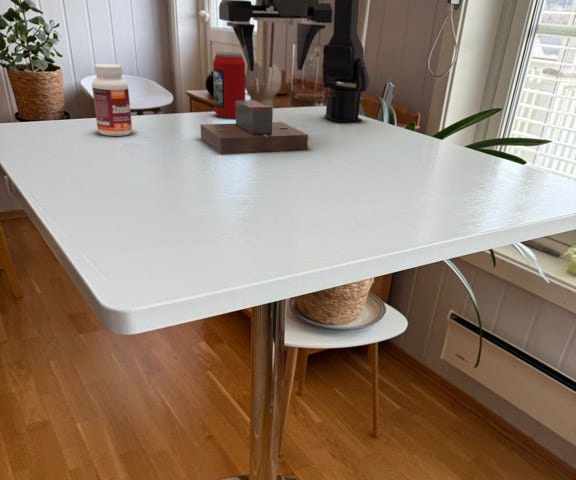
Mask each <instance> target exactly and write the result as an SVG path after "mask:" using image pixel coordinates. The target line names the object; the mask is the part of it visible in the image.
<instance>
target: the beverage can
mask: <svg viewBox="0 0 576 480" xmlns="http://www.w3.org/2000/svg"><path fill="white" fill-rule="evenodd" d="M244 59H245V58H244V57H243V54H242V53H241V52H234V51H233V52H232V51H231V52H230V51H220V52H215V56H214V59H213V61H212V69H213V70H212V73H213V74H212V75H213V106H214V107H213V108H214V113H215V114H216V115H217V116H218V117H220V118H224V119H225V118H226V119H236V101H237V100H246V61H245V60H244Z"/></svg>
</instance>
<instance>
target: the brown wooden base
mask: <svg viewBox="0 0 576 480" xmlns="http://www.w3.org/2000/svg"><path fill="white" fill-rule="evenodd" d="M200 139H201V140H202V141H203V142H204V143H205V144H207V145H208V146H210V147H211V148H212V149H213V150H215V151H217V152H218V153H219V154H221V155H229V154H230V155H231V154H248V153H249V154H250V153H268V152H288V151H290V152H291V151H307V150H308V143H309V134H307V133H306V132H303V131H301V130H299V129H297V128H295V127H293V126H291V125H289V124H287V123H285V122H283V121H272V134H251V133H250V132H248V131H246V130H244V129H243V128H241V127H239V126H237V125H236V122H233V123H203V124H200Z"/></svg>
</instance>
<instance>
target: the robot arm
mask: <svg viewBox="0 0 576 480" xmlns="http://www.w3.org/2000/svg"><path fill="white" fill-rule="evenodd" d="M256 3H257V4H252V1H251V0H221V1H220V3H219V6H218V19H219V20H221V21H225V22H226V26H227V27H232V30H233V32H234V33H235V35H236V38H237V40H238V42H239V45H240V48H241V50H242V53H243V56H244V59H245V63H246V65H247V67H248V70H249V71H251V72H254V67H255V57H254V43H253V42H254V37H253V35H254V29H255V24H252V23H251V19H252V18H255V19H256V18H257V19H261V18H262V19H301V22H297V23H296V25H297V26H296V69H297V70H298V71H302V70H303V68H304V65H305V62H306V59H307V56H308V53H309V51H310V48H311V45H312V43H313V41H314V38H315V37H316V35H317V34H318V33H319V32H320V30H325V29H326V25H325V24H333V30H332V31H333V32H332V36H331V38H330V40H329V41H328V43H327V44H326V43H325V44H324V46H323V49H322V57H323V58H322V66H321V68H322V70H321V71H322V77H323V78H322V81H323V88H324V89H329V91H328V95H327V97H326V108H325V109H326V110H325V114H324V115H323V117H324V118H326V119H328V120H330V121H334V122H335V123H343V122H344V123H349V122H362V121H363V119H362V118H361V117H359V116H360V115H359V114H360V106H361V105H360V104H361V95H362V92H367V91H368V88H369V83H370V77H369V74H368V71H367V70H368V69H367V67H366V63H365V60H364V57H365V55H364V54H365V53H364V51H365V49H364V46H363V44H362V41H361V40H360V37H359V35H358V22H359V6H360V0H334V6H332V4H331V2H321V1H320V0H257V2H256ZM271 7H272V9H270V8H271ZM333 8H334V9H333Z"/></svg>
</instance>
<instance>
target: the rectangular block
mask: <svg viewBox="0 0 576 480" xmlns="http://www.w3.org/2000/svg"><path fill="white" fill-rule="evenodd" d="M273 112H274V109H273V106H271V105H265V104H263V103H262V102H259V101H257V100H254V99H250V100H249V99H248V100H247V99H245V100H237V101H236V118H235V123H236V125H237V126H239V127H241V128H243V129H244V130H246V131H248V132H250V133H251V134H272V122H273V120H274V119H273V115H274V113H273Z"/></svg>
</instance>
